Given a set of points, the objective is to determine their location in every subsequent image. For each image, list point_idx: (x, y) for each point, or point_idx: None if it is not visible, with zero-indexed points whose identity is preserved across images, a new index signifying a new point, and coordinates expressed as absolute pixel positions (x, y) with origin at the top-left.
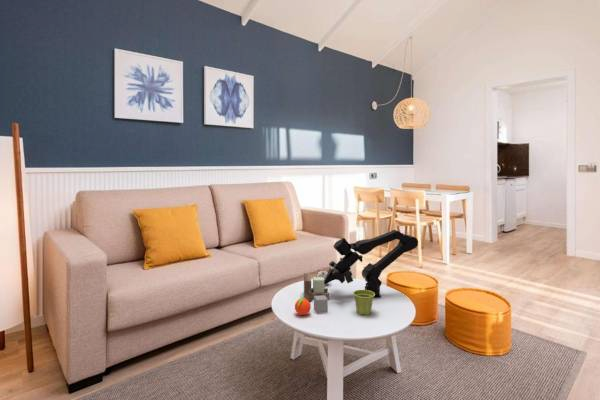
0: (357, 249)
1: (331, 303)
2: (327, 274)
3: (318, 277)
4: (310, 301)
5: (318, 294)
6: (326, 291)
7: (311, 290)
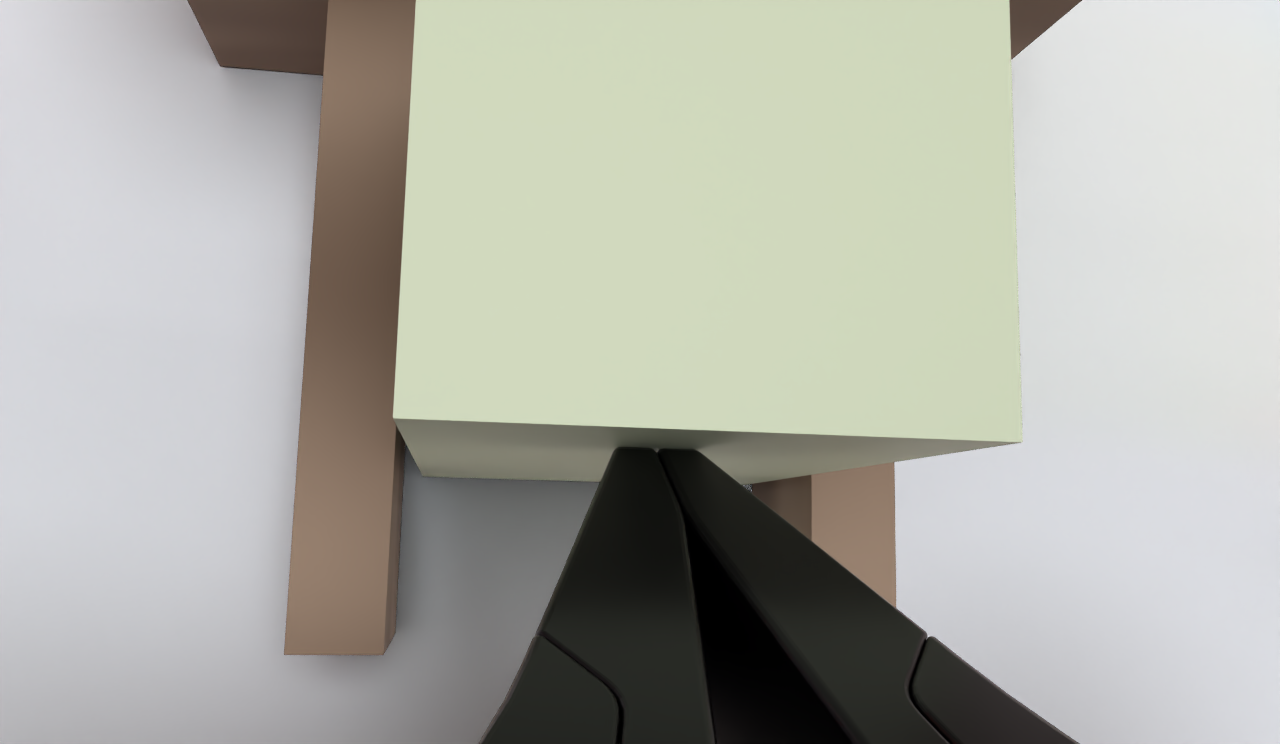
0: None
1: (6, 675)
2: (862, 717)
3: (934, 147)
4: (223, 49)
5: (315, 254)
6: None
7: None
